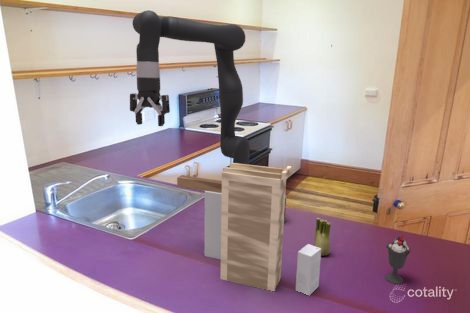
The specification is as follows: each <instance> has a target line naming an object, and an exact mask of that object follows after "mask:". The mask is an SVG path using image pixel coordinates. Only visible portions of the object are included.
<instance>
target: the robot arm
mask: <svg viewBox="0 0 470 313" xmlns="http://www.w3.org/2000/svg"><path fill="white" fill-rule="evenodd" d="M132 27H133V29H134V31H135V32H136V33H137V34H139V38H138V39H139V41H138V43H137V45H136V49H135V50H136V51H135V52H136V68H135V69H136V70H135V71H136V89H137V93H133V92H132V93H130V94H129V111H130V112H133V113H134V114H135V122H136V125H142V124H143V113H142V111H143V110H144V109H145V108H153V110H155V111H156V113H157V114H158V115H157V125H158V127H163V126H164V125H165V123H166V122H165V120H166V119H165V115H166V114H169V113H170V110H171V108H170V98H169V97H170V95H169V94H162V95H161V71H160V70H161V68H160V58H159V56H160V55H159V54H160V53H159V47H160V45H159V44H160V42H161V41H160V40H161V38H166V39H171V40H176V41H181V42H182V41H183V42H193V43H194V42H195V43H196V42H197V43H208V44H209V43H210V44H213V47H214V52H215V58H216V64H217V65H216V66H217V78H218V80H217V81H218V95H219V96H218V97H219V110H220V111H219V112H220V135H219V136H220V137H219V139H220V140H219V141H220V142H219V144H220V151H221V153H222V155H223V156H224V157H227V158H230V159H232V163H239V164H248V165H250V164H249V163H250V162H249V161H250V150H251V149H250V148H251V146H250V142H249V139H248V138H246V137H243V136H238V135H236V130H235V129H236V128H235V125H236V120H237V118H238V116H239V114H240V111H241V110H242V107H243V106H244V104H243V103H244V91H243V90H244V89H243V88H244V87H243V84H242V83H243V82H242V81H241V78H240V76H239V72H238V71H237V69H236V65H235V58H234V54H235V53H234V51H238V50H240V49H241V48H243V47H244V45H245V43H246V34H245V31H244V29H243V28H242V27H241V26H239V25H238V24H214V23H213V24H212V23H206V22H200V21H196V20H190V19H187V18H181V17H177V16H161V15H160V16H159V15H158V14H157V13H156V12H155V11H153V10H148V9H147V10H144V11H141V12H139V13H137V14H136V15H134V17H133V19H132ZM160 101H161V102H160ZM226 167H229V168H230V165H228V166H226Z"/></svg>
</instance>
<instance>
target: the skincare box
mask: <svg viewBox="0 0 470 313" xmlns="http://www.w3.org/2000/svg"><path fill="white" fill-rule="evenodd" d="M321 258H322V256H321V248H319V247H316V246H315V245H313V244H310V243H307V244H306V245H305V246H303V247H302V248H301V249H300V250H298V251H297V258H296V259H297V260H296V262H297V263H296V277H295V279H296V280H295V291H296V292H297V291H298V293H300V292H302V293H304V294H306V295H309V296H311V295H312V294H313V292H315V290H317V289H318V288H319V285H320V272H321ZM302 293H301V294H302ZM304 294H303V295H304ZM306 295H305V296H306Z"/></svg>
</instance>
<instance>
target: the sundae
mask: <svg viewBox="0 0 470 313" xmlns="http://www.w3.org/2000/svg"><path fill="white" fill-rule="evenodd" d="M385 248H386V249H387V250H388V263H389V266H390V267H391V268H392V269H393V270H392V273H387V274H386V275H385V276H384V278H385V280H386V281H388V282H390V283H391V284H394V285H395V284H397V285H401V284H403V283H404V279H403V278H402V276H400V275H398V271H399V270H400V269H402V268H404V267H405V264H406V260H407V258H408V255H409V254H411V253H412V249H411V248H410V247H409V245H407V241H406V240H405V239H404V234H402V235H401V236H398V237H397V238H395V239H394V241H392V242H388V243H386V245H385Z"/></svg>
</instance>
